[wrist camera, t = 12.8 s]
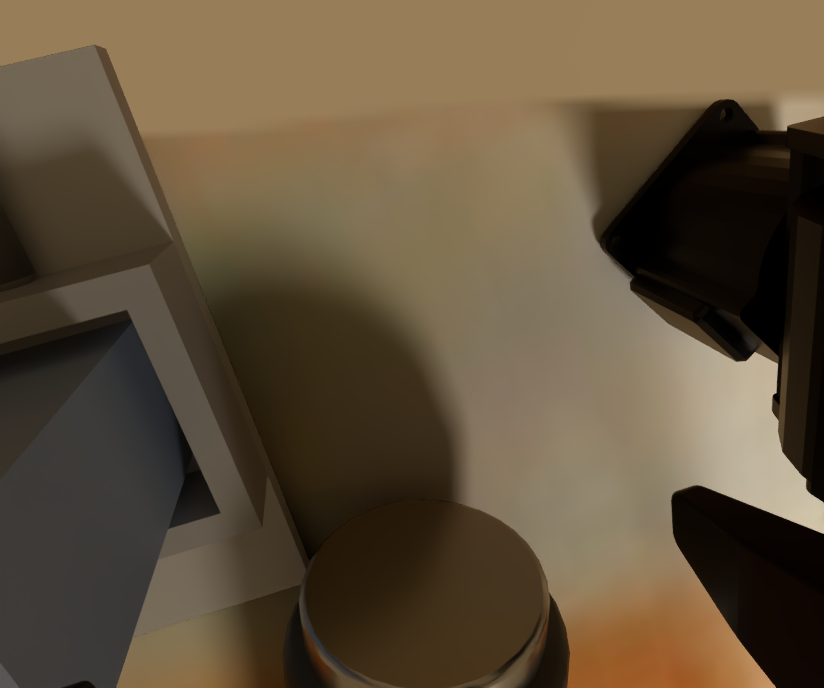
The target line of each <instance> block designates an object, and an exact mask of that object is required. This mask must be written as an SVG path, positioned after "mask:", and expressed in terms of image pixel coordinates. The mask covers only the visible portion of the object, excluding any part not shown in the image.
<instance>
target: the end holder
mask: <svg viewBox="0 0 824 688" xmlns="http://www.w3.org/2000/svg"><path fill="white" fill-rule="evenodd" d="M130 319H132V321H133V324H134V326H135V328H136V330H137V332H138V335H139V337H140V339H141V341H142V343H143V345H144V348H145V350H146V352H147V354H148V356H149V358H150V361H151V363H152V365H153V367H154V369H155V371H156V374H157V376H158V378H159V380H160V382H161V384H162V387H163V389H164V391H165V393H166V395H167V397H168V400H169V402H170V404H171V406H172V408H173V411H174V413H175V415H176V417H177V419H178V421H179V424H180V426H181V428H182V430H183V432H184V434H185V437H186V439H187V441H188V443H189V445H190V447H191V450H192V452H193V455H192V458H191V461H190V464H189V467H188V470H187V473H186V476H185V479H184V482H183V485H182V488H181V491H180V494H179V497H178V500H177V503H176V506H175V509H174V512H173V515H172V518H171V522H170V525H169V528H168V531H167V534H166V537H165V540H164V543H163V546H162V549H161V552H160V555H159V558H158V561H157V564H156V567H155V570H154V573H153V576H152V579H151V582H150V585H149V589H148V592H147V595H146V598H145V601H144V604H143V607H142V610H141V613H140V616H139V619H138V622H137V625H136V628H135V631H134V634H133V637H136V636H139V635H142V634H145V633H148V632H151V631H155V630H158V629H161V628H164V627H167V626H171V625H174V624H177V623H180V622H183V621H187V620H190V619H193V618H196V617H199V616H203V615H206V614H209V613H212V612H215V611H218V610H222V609H225V608H228V607H231V606H234V605H238V604H241V603H244V602H247V601H250V600H254V599H257V598H260V597H263V596H266V595H270V594H273V593H276V592H279V591H282V590H285V589H289V588H292V587H295V586H298V585H301V583H302V580H303V577H304V575H305V572H306V570H307V567H308V564H309V559H308V557H307V554H306V552H305V549H304V547H303V544H302V541H301V539H300V536H299V534H298V531H297V529H296V526H295V524H294V521H293V519H292V516H291V514H290V511H289V509H288V506H287V504H286V501H285V499H284V496H283V494H282V491H281V489H280V486H279V484H278V481H277V479H276V476H275V473H274V471H273V468H272V466H271V463H270V461H269V458H268V456H267V453H266V451H265V448H264V446H263V443H262V441H261V438H260V436H259V433H258V431H257V428H256V426H255V423H254V421H253V418H252V416H251V413H250V411H249V408H248V405H247V403H246V400H245V398H244V395H243V393H242V390H241V388H240V385H239V383H238V380H237V378H236V375H235V373H234V370H233V368H232V365H231V363H230V360H229V358H228V355H227V353H226V350H225V348H224V345H223V342H222V340H221V337H220V335H219V332H218V330H217V327H216V325H215V322H214V320H213V317H212V315H211V312H210V310H209V307H208V305H207V302H206V300H205V297H204V295H203V292H202V290H201V287H200V285H199V282H198V280H197V277H196V274H195V272H194V269H193V267H192V264H191V262H190V259H189V257H188V254H187V252H186V249H185V247H184V244H183V242H182V239H181V237H180V234H179V232H178V229H177V227H176V224H175V222H174V219H173V217H172V214H171V212H170V209H169V206H168V204H167V201H166V199H165V196H164V194H163V191H162V189H161V186H160V184H159V181H158V179H157V176H156V174H155V171H154V169H153V166H152V164H151V161H150V159H149V156H148V154H147V151H146V149H145V146H144V144H143V141H142V138H141V136H140V133H139V131H138V128H137V126H136V123H135V121H134V118H133V116H132V113H131V111H130V108H129V106H128V103H127V101H126V98H125V96H124V93H123V91H122V88H121V86H120V83H119V81H118V78H117V75H116V73H115V70H114V68H113V66H112V63H111V61H110V58H109V55H108V53H107V50H106V49H104V48H102V47H99V46H96V45H92V46H87V47H83V48H78V49H74V50H70V51H66V52H61V53H57V54H52V55H48V56H44V57H40V58H35V59H31V60H27V61H22V62H18V63H13V64H9V65H5V66H0V355H2V354H6V353H10V352H13V351H17V350H20V349H24V348H28V347H31V346H35V345H39V344H42V343H46V342H50V341H53V340H57V339H60V338H64V337H68V336H71V335H75V334H79V333H82V332H86V331H90V330H93V329H97V328H101V327H104V326H108V325H111V324H115V323H119V322H122V321H126V320H130Z"/></svg>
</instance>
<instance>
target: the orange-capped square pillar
mask: <svg viewBox="0 0 824 688" xmlns="http://www.w3.org/2000/svg"><path fill="white" fill-rule="evenodd" d="M192 455H193V452H192V450H191V447H190V445H189V443H188V441H187V439H186V437H185V434H184V432H183V430H182V428H181V426H180V424H179V421H178V419H177V417H176V415H175V413H174V411H173V408H172V406H171V404H170V402H169V400H168V397H167V395H166V393H165V391H164V389H163V387H162V384H161V382H160V380H159V378H158V376H157V374H156V371H155V369H154V367H153V365H152V363H151V361H150V358H149V356H148V354H147V352H146V350H145V348H144V345H143V343H142V341H141V339H140V337H139V335H138V332H137V330H136V328H135V326H134V324H133V321H132V319H130V320H126V321H122V322H119V323H115V324H111V325H108V326H104V327H101V328H97V329H93V330H90V331H86V332H82V333H79V334H75V335H71V336H68V337H64V338H60V339H57V340H53V341H50V342H46V343H42V344H39V345H35V346H31V347H28V348H24V349H20V350H17V351H13V352H10V353H6V354H2V355H0V688H61V687H64V686H68V685H71V684H74V683H77V682H80V681H86V680H87V681H89V682H91V683H93V684H94V686H95V687H96V688H116V686H117V683H118V680H119V677H120V674H121V671H122V668H123V665H124V662H125V659H126V656H127V652H128V649H129V646H130V643H131V640H132V637H133V634H134V631H135V628H136V625H137V622H138V619H139V616H140V613H141V610H142V607H143V604H144V601H145V598H146V595H147V592H148V589H149V585H150V582H151V579H152V576H153V573H154V570H155V567H156V564H157V561H158V558H159V555H160V552H161V549H162V546H163V543H164V540H165V537H166V534H167V531H168V528H169V525H170V522H171V518H172V515H173V512H174V509H175V506H176V503H177V500H178V497H179V494H180V491H181V488H182V485H183V482H184V479H185V476H186V473H187V470H188V467H189V464H190V461H191V458H192Z"/></svg>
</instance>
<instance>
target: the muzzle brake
mask: <svg viewBox="0 0 824 688" xmlns="http://www.w3.org/2000/svg"><path fill="white" fill-rule="evenodd" d="M569 657H570V651H569V645H568V639H567V632H566V627H565V624H564V622H563V619H562V617H561V614H560V612H559V609H558V607H557V604H556V602H555V601H554V599H553V598H552V596H551V595H550V593H549V590H548V582H547V579H546V576H545V574H544V571H543V569H542V566H541V564H540V562H539V559H538V558H537V557H536V555H535V554H534V552H533V551H532V549H531V548H530V546H529V545H528V543H527V542H526V541H525V540H524V539H523V538H521V537H520V536H519V535H518V534H517V533H516V532H515V531H514V530H513V529H512V528H510V527H509V526H507V525H506V524H504V523H503V522H502V521H500V520H499V519H497V518H495V517H493V516H491V515H489V514H486V513H484V512H482V511H480V510H477V509H474V508H471V507H468V506H465V505H462V504H457V503H451V502H446V501H438V500H410V501H401V502H396V503H391V504H386V505H383V506H380V507H377V508H375V509H372V510H369V511H366V512H364V513H362V514H361V515H359V516H357V517H355V518H353V519H351V520H349V521H348V522H346V523H345V524H344V525H342V526H341V527H340V528H338V529H337V530H335V531H334V532H333V533H332V534H331V535H330V536H329V537H328V538H327V539H326V540H325V541H324V542H323V543H322V544H321V545H320V547H319V548H318V550H317V551H316V553H315V554H314V556H313V557H312V559H311V560H310V562H309V564H308V567H307V570H306V572H305V575H304V577H303V580H302V583H301V590H300V597H299V601H298V602H297V604H296V605H295V608H294V611H293V613H292V616H291V618H290V621H289V624H288V626H287V630H286V635H285V642H284V649H283V668H284V680H285V686H286V688H567V683H568V671H569Z"/></svg>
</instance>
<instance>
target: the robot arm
mask: <svg viewBox="0 0 824 688" xmlns="http://www.w3.org/2000/svg"><path fill="white" fill-rule="evenodd" d="M723 109H724V110H725V112H726V113H725V118H724V119H723V121H721V120H720V113H721V112H722V110H723ZM616 236H618V237H619V242H618V244H617V245H616V246H615V247H612V240H613V238H615V237H616ZM600 246H601V248H602V250H603V251H604V252H605V253H606V254H607V255H608V256H609V257H610V258H611V259H613V260H614V261H615V262H616V263H617V264H618V265H619V266H620V267H621V268H622V269H624V270H625V271H626V272H627V273H628V274H629V275H630V276H631V277H632V278H633V279H632V280H631V281H630V289H631V291H632V292H633V293H635V294H636V295H637V296H638V297H639V298H640V299H641V300H642V301H644V302H645V303H646V304H647V305H648V306H649V307H650V308H651V309H652V310H654V311H655V312H656V313H657V314H658V315H659V316H660V317H661V318H663V319H664V320H665V321H666V322H667V323H668V324H670V325H672V326H673V327H675V328H677V329H679V330H680V331H682V332H684V333H686V334H688V335H689V336H691V337H693V338H695V339H697V340H698V341H700V342H702V343H704V344H706V345H707V346H709V347H711V348H713V349H715V350H716V351H718V352H720V353H722V354H723V355H725V356H727V357H729V358H731V359H732V360H734V361H736V362H739V361H747V360H748V359H749V358H750V356H751V355H752V354H753V353H754V352H756V353H758V354H760V355H762V356H764V357H766V358H768V359H770V360H772V361H774V362H776V363H778V377H777V393H776V394H774V395H773V399H772V412H773V414H774V415H775V416H776V418H777V419H778V420H779V425H778V433H779V438H780V442H781V447H782V452H783V453H784V454H785V456H786V457H787V458H788V459H789V460H790V462H791V463H792V464H793V465H794V467H795V468H796V469H797V470H798V471H799V473H800V474H801V475H802V476H803V477H804V478H806V479H807V480H806V489H807V490H808V492H809V493H810V494H812V495H813V496H815V497H816V498H818V499H819V500H821V501H822V502H824V117H820V118H816V119H812V120H808V121H804V122H800V123H796V124H792V125H789V126H787V131H771V130H759V129H758V128H757V126H756V125H755V124H754V123H753V121H752V120H751V119H750V118H749V117H748V115H747V114H746V113H745V112H744V111H743V109H742V108H741V107H740V106H739V104H738V103H737V102H735V101H734V100H729V99H726V100H718V101H715V102H714V103H713V104H712V105H711V106H710V107H709V108H708V109H707V110H706V112H705V113H704V114H703V115H702V116H701V118H700V119H699V120H698V121H697V122H696V123H695V125H694V126H693V127H692V128H691V129H690V131H689V132H688V133H687V134H686V135H685V137H684V138H683V139H682V140H681V141H680V142H679V144H678V145H677V146H676V147H675V148H674V150H673V151H672V152H671V153H670V154H669V156H668V157H667V158H666V159H665V160H664V161H663V163H662V164H661V165H660V166H659V167H658V169H657V170H656V171H655V172H654V173H653V175H652V176H651V177H650V178H649V179H648V181H647V182H646V183H645V184H644V185H643V186H642V188H641V189H640V190H639V191H638V192H637V194H636V195H635V196H634V197H633V198H632V200H631V201H630V202H629V203H628V204H627V205H626V207H625V208H624V209H623V210H622V211H621V213H620V214H619V215H618V216H617V217H616V219H615V220H614V221H613V222H612V223H611V224H610V226H609V227H608V228H607V229H606V230H605V232H604V233H603V235H602V236H601V240H600ZM671 505H672V525H673V535H674V538H675V541H676V543H677V545H678V547H679V549H680V551H681V552H682V554H683V555H684V557H685V558H686V560H687V561H688V563H689V564H690V566H691V568H692V569H693V571H694V572H695V574H696V575H697V577H698V578H699V580H700V581H701V583H702V585H703V586H704V588H705V589H706V591H707V592H708V594H709V595H710V597H711V598H712V600H713V602H714V603H715V605H716V606H717V608H718V609H719V611H720V612H721V614H722V615H723V617H724V619H725V620H726V622H727V623H728V625H729V626H730V628H731V629H732V631H733V632H734V634H735V635H736V636H737V638H738V639H739V641H740V642H741V643H742V645H743V646H744V647H745V649H746V650H747V651H748V652H749V654H750V655H751V656H752V658H753V659H754V660H755V661H756V663H757V664H758V665H759V666H760V668H761V669H762V670H763V671H764V673H765V674H766V675H767V677H768V678H769V679H770V680H771V682H772V683H773V684H774V685H775V687H776V688H824V534H822V533H820V532H817V531H815V530H812V529H810V528H807V527H805V526H802V525H800V524H797V523H794V522H792V521H789V520H787V519H784V518H782V517H779V516H777V515H774V514H772V513H769V512H767V511H764V510H761V509H759V508H756V507H754V506H751V505H749V504H746V503H744V502H741V501H739V500H736V499H733V498H731V497H728V496H726V495H723V494H721V493H718V492H716V491H713V490H711V489H708V488H706V487H703V486H698V485H696V486H691V487H688V488H685V489H682V490H679V491H676V492H674V493H673V495H672V499H671ZM61 688H96V687H95V686H94V684H93V683H91V682H89V681H87V680H86V681H80V682H77V683H74V684H71V685H68V686H64V687H61Z"/></svg>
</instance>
